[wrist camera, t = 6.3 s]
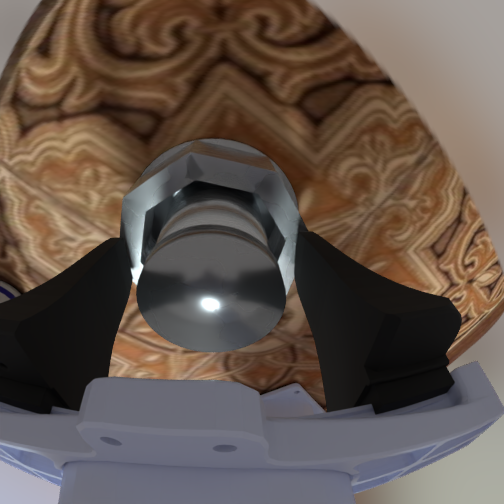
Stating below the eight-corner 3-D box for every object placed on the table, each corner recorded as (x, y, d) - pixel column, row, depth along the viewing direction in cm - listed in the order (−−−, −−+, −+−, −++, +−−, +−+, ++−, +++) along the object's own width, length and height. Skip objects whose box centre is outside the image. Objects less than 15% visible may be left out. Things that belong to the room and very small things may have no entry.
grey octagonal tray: (322, 246, 16) (337, 276, 14) (192, 310, 18) (189, 344, 15) (244, 103, 12) (249, 108, 9) (98, 200, 13) (77, 225, 11)
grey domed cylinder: (267, 174, 13) (296, 239, 8) (259, 261, 16) (276, 351, 11) (163, 172, 13) (125, 237, 8) (169, 260, 15) (149, 350, 10)
